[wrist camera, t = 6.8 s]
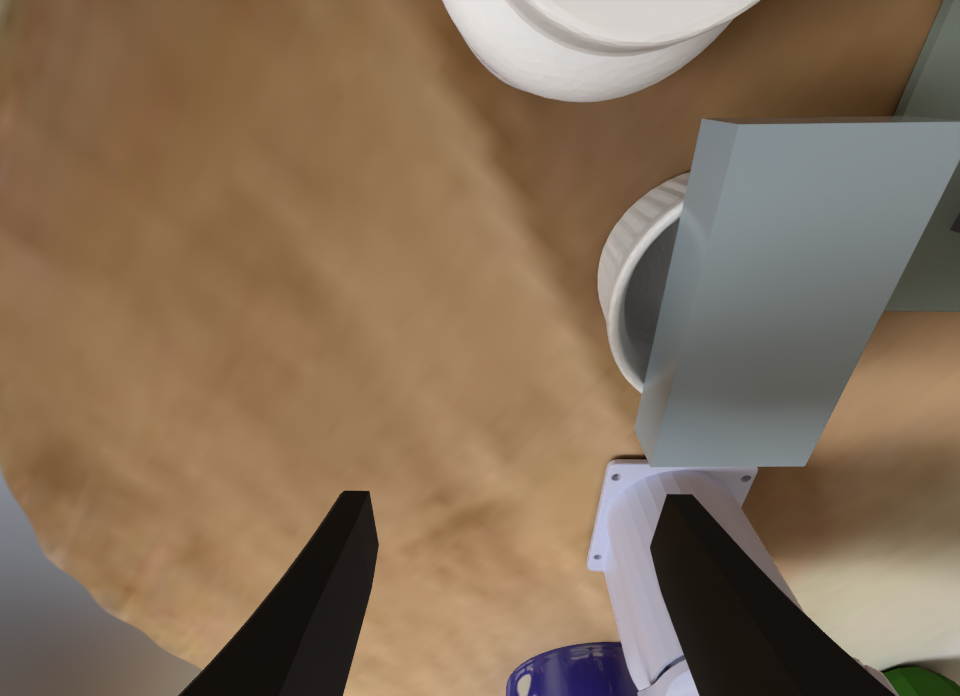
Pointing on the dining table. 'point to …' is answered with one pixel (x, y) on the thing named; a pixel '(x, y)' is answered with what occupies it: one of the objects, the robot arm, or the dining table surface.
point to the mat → (940, 251)
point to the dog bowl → (574, 672)
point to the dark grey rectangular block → (956, 224)
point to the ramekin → (639, 275)
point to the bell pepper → (921, 682)
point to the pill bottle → (589, 41)
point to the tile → (783, 279)
